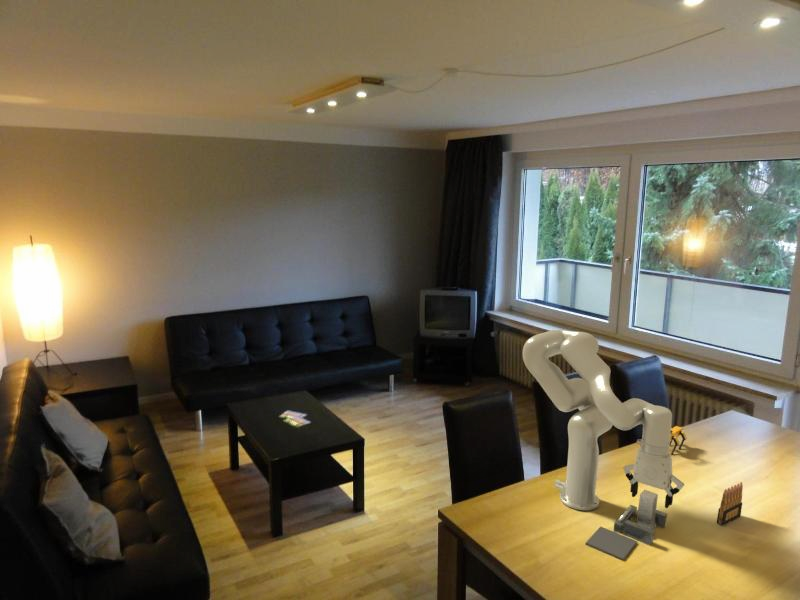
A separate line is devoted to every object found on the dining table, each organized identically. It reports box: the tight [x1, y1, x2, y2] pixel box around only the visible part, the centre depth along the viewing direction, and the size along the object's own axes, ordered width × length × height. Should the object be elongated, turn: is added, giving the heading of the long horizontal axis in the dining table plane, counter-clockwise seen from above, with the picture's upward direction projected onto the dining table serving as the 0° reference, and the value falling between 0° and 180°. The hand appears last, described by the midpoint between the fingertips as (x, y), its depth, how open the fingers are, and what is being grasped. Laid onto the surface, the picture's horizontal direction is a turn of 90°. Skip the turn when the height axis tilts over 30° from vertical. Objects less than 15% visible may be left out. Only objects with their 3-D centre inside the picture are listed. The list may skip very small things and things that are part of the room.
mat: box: [585, 526, 638, 561], centre depth 169 cm, size 11×11×1 cm
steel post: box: [636, 489, 659, 531], centre depth 175 cm, size 4×7×12 cm, turn 139°
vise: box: [613, 504, 668, 546], centre depth 177 cm, size 11×14×4 cm
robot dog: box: [670, 425, 688, 456], centre depth 228 cm, size 6×18×13 cm, turn 133°
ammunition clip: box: [716, 481, 743, 527], centre depth 181 cm, size 11×2×12 cm, turn 122°
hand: (650, 500), depth 174 cm, fingers open, 9 cm apart
